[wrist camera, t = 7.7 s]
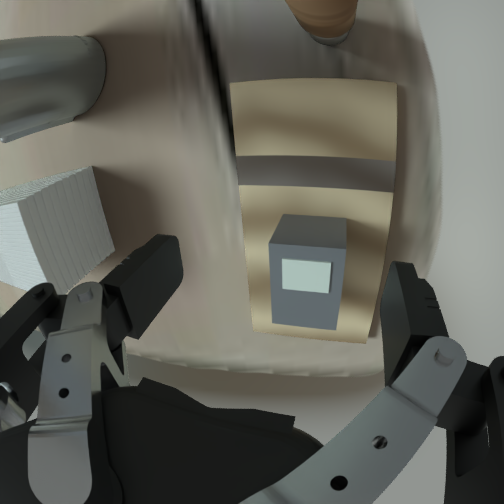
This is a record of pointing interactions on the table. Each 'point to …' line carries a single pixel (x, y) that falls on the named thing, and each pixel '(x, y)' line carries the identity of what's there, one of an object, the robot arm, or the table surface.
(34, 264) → the white rectangular block
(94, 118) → the table surface
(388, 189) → the board
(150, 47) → the table surface
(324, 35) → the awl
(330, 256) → the block
